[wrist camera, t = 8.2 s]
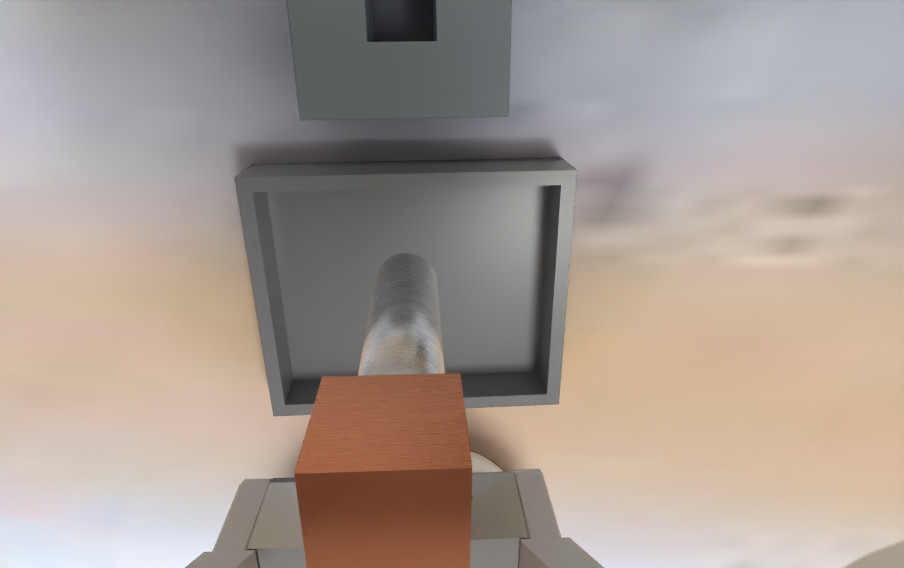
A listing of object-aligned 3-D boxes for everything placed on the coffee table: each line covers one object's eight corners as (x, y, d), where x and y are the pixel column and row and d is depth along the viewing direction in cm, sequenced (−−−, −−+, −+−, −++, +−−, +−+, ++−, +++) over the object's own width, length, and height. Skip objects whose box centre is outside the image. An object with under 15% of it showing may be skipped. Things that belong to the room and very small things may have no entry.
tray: (561, 157, 33) (577, 170, 30) (547, 374, 39) (558, 404, 36) (252, 164, 33) (234, 177, 29) (285, 384, 38) (273, 416, 35)
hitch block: (499, -104, 28) (515, -133, 23) (495, 105, 32) (508, 116, 27) (295, -105, 28) (271, -134, 23) (317, 108, 32) (300, 120, 27)
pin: (440, 213, 19) (472, 468, 8) (440, 343, 21) (466, 698, 10) (368, 214, 19) (293, 474, 8) (375, 344, 21) (324, 706, 10)
